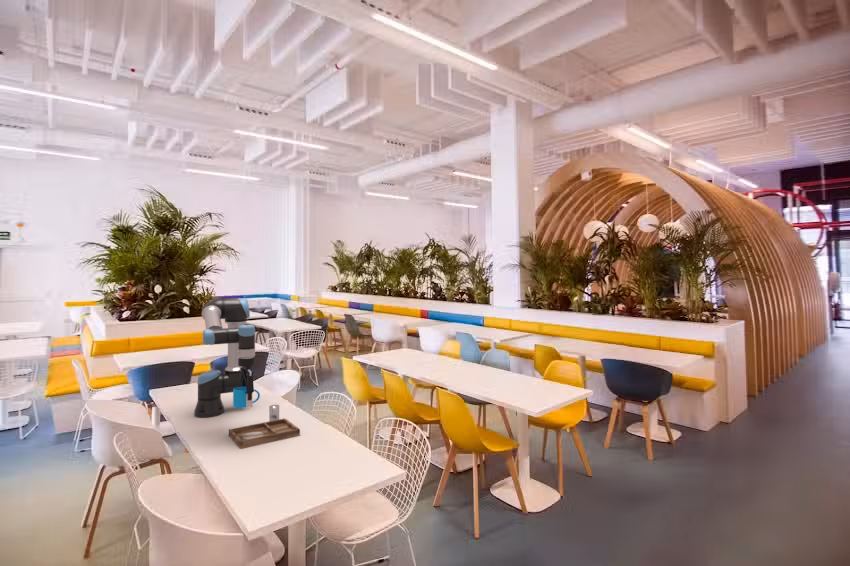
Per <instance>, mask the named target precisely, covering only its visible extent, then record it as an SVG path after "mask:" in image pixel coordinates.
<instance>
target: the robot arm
mask: <svg viewBox="0 0 850 566" xmlns="http://www.w3.org/2000/svg"><path fill="white" fill-rule="evenodd" d="M250 312H251V311H250V307H249V302H248V300H247V299H246V298H244V297H243V298H242V297H229V298H222V297H221V298H215V299H212V300H209V301H208V302H207V303H205V305H204V306H203V307H202V309H201V317H202V319H203V320H204V325H205V329H203V331H202V344H203V345H204V346H205V345H207V346H213V345H226V344H227V366H226V367H225V368H224V372H221V370H219V369H216V370H215V369H214V370H213V369H212V370H208V371H205V372H202V373H200V374H199V375H198V377H197V402H196V405H195V408H194V412H193V415H194V417H196V418H212V417H216V416H220V415H222V414H224V413H225V406H224V404H223V401H222V398H221V395H222V394H230V393H233V389H234V388H237V387H246V390H247V392H246V393H245V394H246V408H251V407H253V403H252V402H253V393H255V391H254V389H255V388H254V387H255V385H254V371H253V370H252V367H253V366H255V365H256V357H255V356H256V327H255V325H253V324H245V323H247V321H248V320H247V319H249V318H250V314H251V313H250ZM222 320H224V323H225V324H227V327H225V328H223V325H222V324H223V323H222Z"/></svg>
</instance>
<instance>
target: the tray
mask: <svg viewBox="0 0 850 566" xmlns="http://www.w3.org/2000/svg"><path fill="white" fill-rule="evenodd" d="M298 436H301V429H300V428H299V427H298V426H296V425H295V424H294V423H292V422H291V421H290V420H288V419H287V418H285V417H283V418H279V420H274V421H264V422H258V423H255V424H250V425H249V424H248V425H244V426H239V427H235V428H229V429H228V437H229V438H230V439H231V440H232V441H233V443H234V444H235V445H236V446H237V447H238V448H239V449H240V450H241V449H245V448H249V447H250V448H251V447H255V446H258V445H262V444H268V443H271V442H276V441H281V440H284V439H290V438H294V437H298Z"/></svg>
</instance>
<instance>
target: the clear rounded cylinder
mask: <svg viewBox="0 0 850 566" xmlns="http://www.w3.org/2000/svg"><path fill="white" fill-rule="evenodd" d="M268 411H269V412H268V414H269V416H268V418H269V421H274V420H279V419H280V405H279V404H271V405H269V410H268ZM269 421H268V422H269Z"/></svg>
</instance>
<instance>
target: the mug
mask: <svg viewBox="0 0 850 566" xmlns="http://www.w3.org/2000/svg"><path fill="white" fill-rule="evenodd" d="M246 392H247V390H246V387H237V388H234V389H233V392H232V394H233V395H232V399H233V400H232V403H233V405H232V407H233V408H235V409H245V408H247V407H246V394H245V393H246ZM254 393H256V394H257V397H256V398H255V400H252V404H254V403H256V402H257V401H259V399H260V397H261V393H260V392H259V390H257V389H255V388H254Z"/></svg>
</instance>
